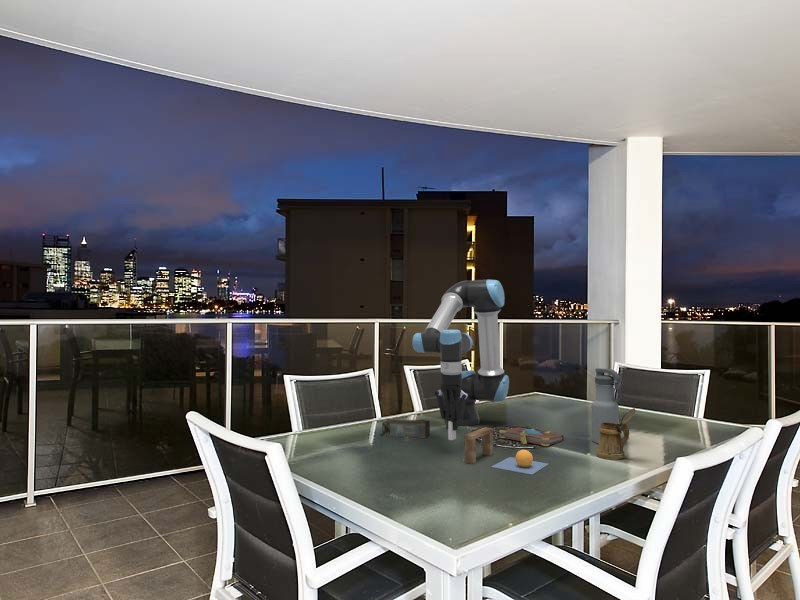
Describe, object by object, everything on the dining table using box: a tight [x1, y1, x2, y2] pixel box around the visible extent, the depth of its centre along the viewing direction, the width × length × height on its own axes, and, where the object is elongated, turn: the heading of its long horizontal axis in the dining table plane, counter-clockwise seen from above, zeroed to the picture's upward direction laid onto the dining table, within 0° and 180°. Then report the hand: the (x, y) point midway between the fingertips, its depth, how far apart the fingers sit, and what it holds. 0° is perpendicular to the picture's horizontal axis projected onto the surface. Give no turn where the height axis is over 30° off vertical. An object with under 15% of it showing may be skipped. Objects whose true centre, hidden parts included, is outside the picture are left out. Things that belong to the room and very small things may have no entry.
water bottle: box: [590, 367, 621, 444], centre depth 206 cm, size 10×10×28 cm
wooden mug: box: [596, 407, 636, 461], centre depth 184 cm, size 9×14×18 cm, turn 40°
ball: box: [515, 449, 534, 467], centre depth 174 cm, size 6×6×6 cm
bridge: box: [464, 426, 494, 465], centre depth 184 cm, size 3×14×9 cm, turn 144°
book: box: [498, 427, 565, 447], centre depth 211 cm, size 16×25×5 cm, turn 47°
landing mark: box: [490, 456, 549, 476], centre depth 175 cm, size 14×14×1 cm
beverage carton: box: [381, 418, 431, 439], centre depth 219 cm, size 8×19×6 cm, turn 76°
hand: (452, 439), depth 191 cm, fingers closed
